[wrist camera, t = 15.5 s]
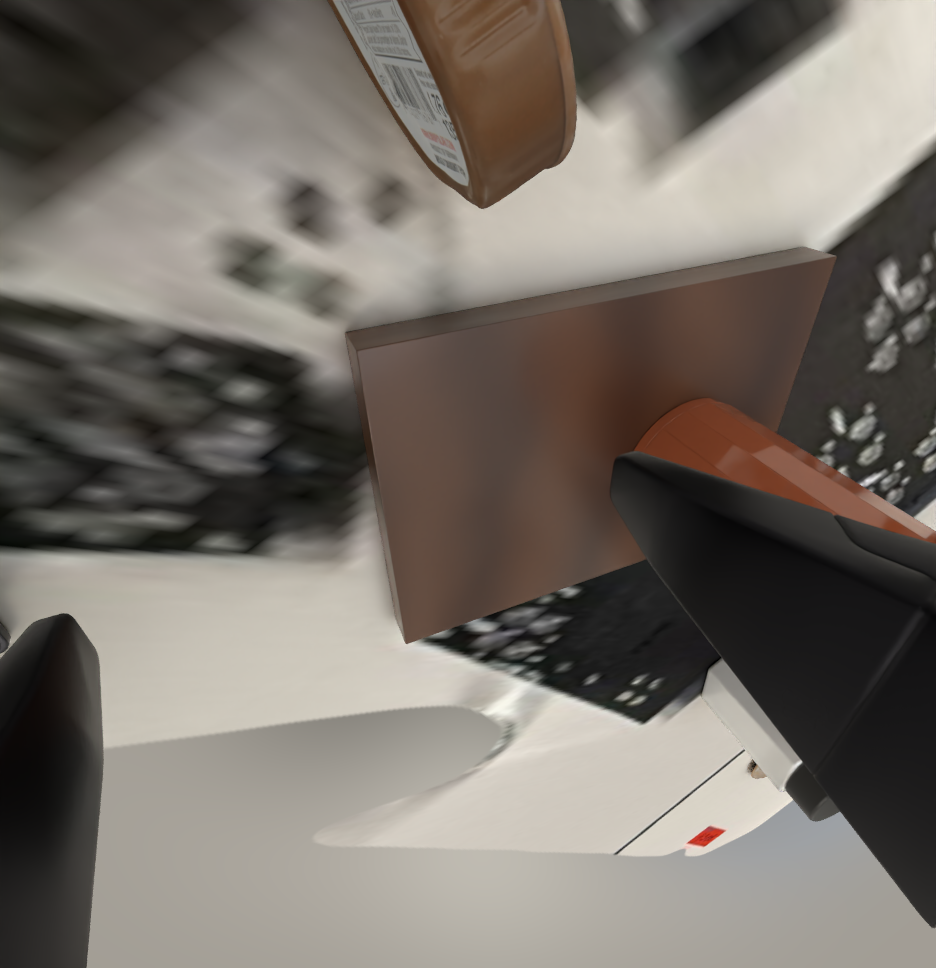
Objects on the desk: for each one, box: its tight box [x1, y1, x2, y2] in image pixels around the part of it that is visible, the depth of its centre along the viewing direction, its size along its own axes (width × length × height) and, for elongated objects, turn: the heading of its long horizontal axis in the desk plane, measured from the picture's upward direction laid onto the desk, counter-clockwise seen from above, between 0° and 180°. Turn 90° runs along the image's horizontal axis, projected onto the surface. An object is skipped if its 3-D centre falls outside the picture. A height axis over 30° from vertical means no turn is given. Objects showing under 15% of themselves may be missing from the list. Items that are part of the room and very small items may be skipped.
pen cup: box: [634, 398, 936, 544], centre depth 24 cm, size 7×7×12 cm
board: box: [345, 247, 837, 644], centre depth 28 cm, size 22×16×2 cm
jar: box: [701, 658, 840, 821], centre depth 47 cm, size 9×8×12 cm
